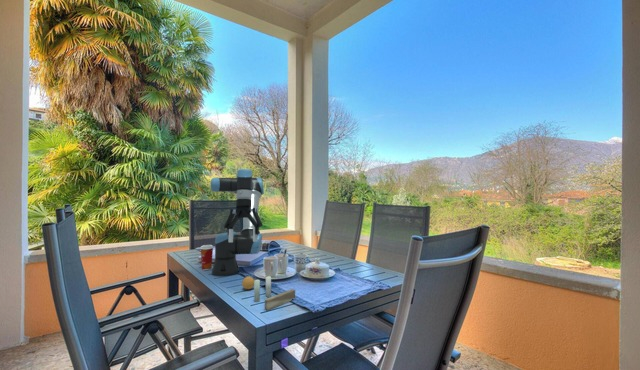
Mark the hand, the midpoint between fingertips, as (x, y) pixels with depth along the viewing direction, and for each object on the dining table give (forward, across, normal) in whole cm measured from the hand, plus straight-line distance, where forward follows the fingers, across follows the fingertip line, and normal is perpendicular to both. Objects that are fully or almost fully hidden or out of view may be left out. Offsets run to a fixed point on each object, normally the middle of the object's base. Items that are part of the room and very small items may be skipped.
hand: (242, 242), depth 139 cm
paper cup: (+15, -43, +29) cm, 54 cm away
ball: (+20, 0, +6) cm, 21 cm away
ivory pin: (+25, +14, +1) cm, 29 cm away
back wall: (+27, +22, -5) cm, 35 cm away
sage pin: (+26, +11, -5) cm, 29 cm away
